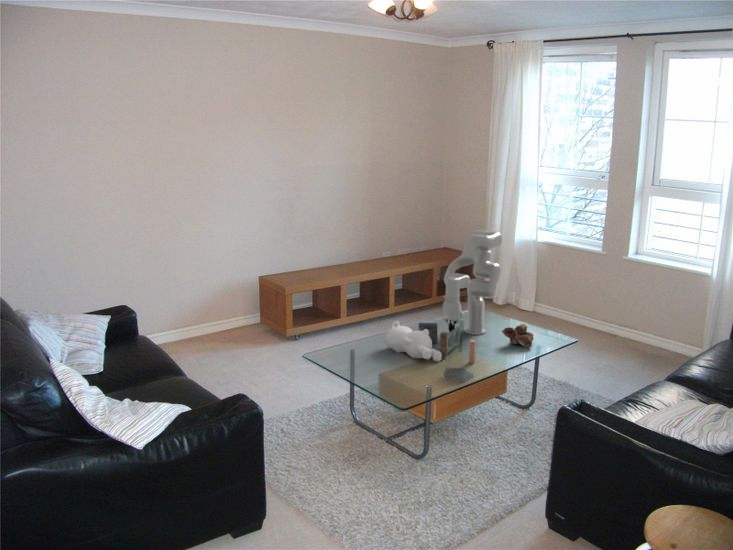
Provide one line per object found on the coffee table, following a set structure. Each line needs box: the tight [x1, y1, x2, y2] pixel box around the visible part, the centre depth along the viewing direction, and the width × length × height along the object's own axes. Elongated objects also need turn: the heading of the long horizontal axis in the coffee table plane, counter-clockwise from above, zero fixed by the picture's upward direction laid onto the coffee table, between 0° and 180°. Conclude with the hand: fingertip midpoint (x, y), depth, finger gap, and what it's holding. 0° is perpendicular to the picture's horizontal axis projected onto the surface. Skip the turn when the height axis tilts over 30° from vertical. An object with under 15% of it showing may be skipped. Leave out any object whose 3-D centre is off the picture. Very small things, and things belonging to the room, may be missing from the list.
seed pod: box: [501, 323, 534, 348], centre depth 369 cm, size 14×18×16 cm
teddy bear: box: [384, 320, 442, 363], centre depth 354 cm, size 19×18×35 cm
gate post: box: [439, 331, 449, 360], centre depth 349 cm, size 3×3×14 cm
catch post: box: [468, 339, 477, 364], centre depth 343 cm, size 2×2×12 cm
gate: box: [447, 325, 461, 354], centre depth 358 cm, size 18×2×11 cm, turn 149°
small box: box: [418, 322, 438, 345], centre depth 373 cm, size 11×6×10 cm, turn 84°
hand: (451, 331), depth 363 cm, fingers closed
